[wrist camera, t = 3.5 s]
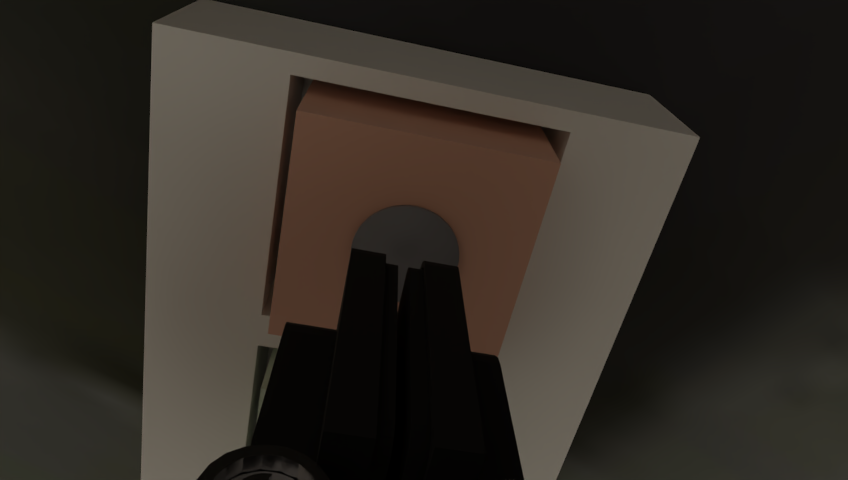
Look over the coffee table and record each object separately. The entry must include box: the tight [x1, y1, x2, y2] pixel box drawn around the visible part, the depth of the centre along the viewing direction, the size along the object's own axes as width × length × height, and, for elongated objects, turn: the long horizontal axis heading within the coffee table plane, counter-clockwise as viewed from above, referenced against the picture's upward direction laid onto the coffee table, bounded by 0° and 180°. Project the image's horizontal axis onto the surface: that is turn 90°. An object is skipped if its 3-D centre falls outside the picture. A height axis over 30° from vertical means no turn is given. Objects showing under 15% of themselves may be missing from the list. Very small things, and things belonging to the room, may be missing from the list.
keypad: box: [141, 0, 700, 480], centre depth 17 cm, size 10×18×3 cm, turn 168°
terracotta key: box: [268, 79, 561, 357], centre depth 13 cm, size 5×5×2 cm
